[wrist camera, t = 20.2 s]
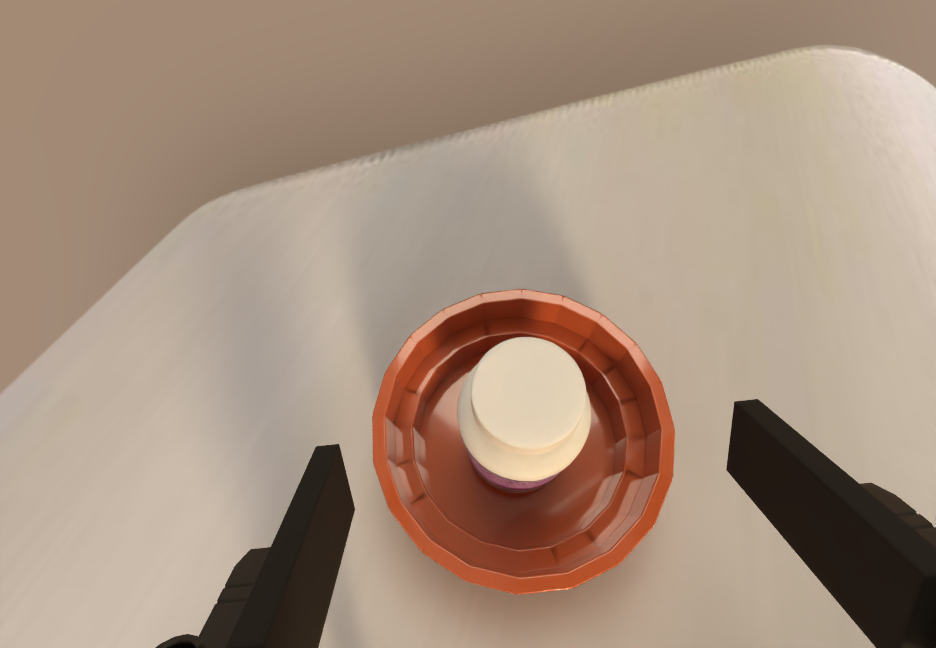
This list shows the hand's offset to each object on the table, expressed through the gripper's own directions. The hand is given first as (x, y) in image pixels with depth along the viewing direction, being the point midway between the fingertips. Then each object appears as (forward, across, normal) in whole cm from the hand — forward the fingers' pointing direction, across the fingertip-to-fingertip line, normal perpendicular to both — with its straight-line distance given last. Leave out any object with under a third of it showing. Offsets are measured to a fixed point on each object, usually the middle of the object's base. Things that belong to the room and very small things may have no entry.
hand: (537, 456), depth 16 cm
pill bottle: (+8, 0, -5) cm, 9 cm away
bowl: (+8, 0, -5) cm, 10 cm away
